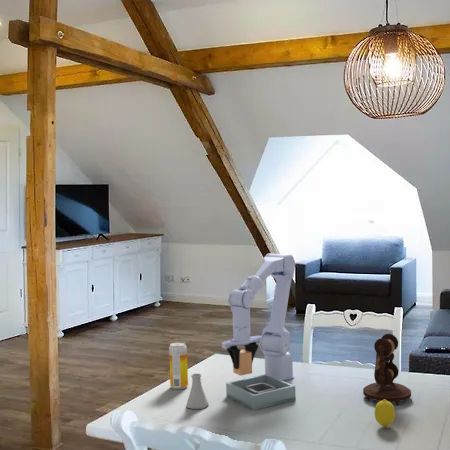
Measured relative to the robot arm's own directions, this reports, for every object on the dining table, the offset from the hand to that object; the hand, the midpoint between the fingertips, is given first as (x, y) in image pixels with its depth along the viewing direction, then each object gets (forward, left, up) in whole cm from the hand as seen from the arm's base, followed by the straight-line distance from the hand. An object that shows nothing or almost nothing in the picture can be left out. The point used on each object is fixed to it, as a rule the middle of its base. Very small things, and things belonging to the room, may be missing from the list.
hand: (242, 367), depth 215 cm
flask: (+18, +1, -9) cm, 20 cm away
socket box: (-2, +7, -9) cm, 11 cm away
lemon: (-16, +48, -9) cm, 51 cm away
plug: (0, 0, -2) cm, 2 cm away
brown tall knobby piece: (-34, +31, -9) cm, 47 cm away
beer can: (+14, -19, -9) cm, 25 cm away
